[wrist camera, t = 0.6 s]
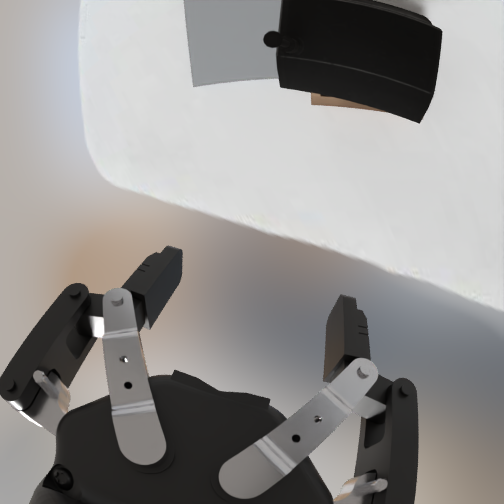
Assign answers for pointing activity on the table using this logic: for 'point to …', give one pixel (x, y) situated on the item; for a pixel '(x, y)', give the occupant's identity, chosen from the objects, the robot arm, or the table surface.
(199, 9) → the slate mat
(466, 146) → the table surface
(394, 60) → the portable radio
